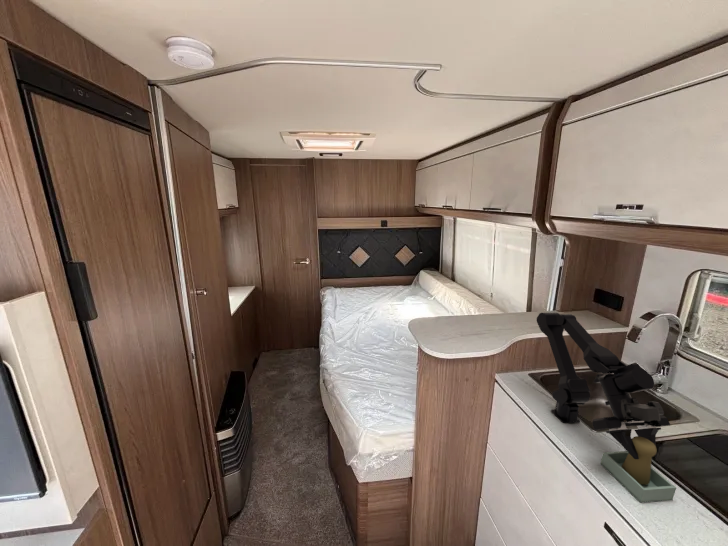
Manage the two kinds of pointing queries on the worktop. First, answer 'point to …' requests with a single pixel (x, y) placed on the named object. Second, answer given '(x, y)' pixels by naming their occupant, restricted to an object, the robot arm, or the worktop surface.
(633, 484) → the tray
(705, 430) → the worktop surface
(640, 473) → the cork
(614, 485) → the worktop surface
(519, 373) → the worktop surface
